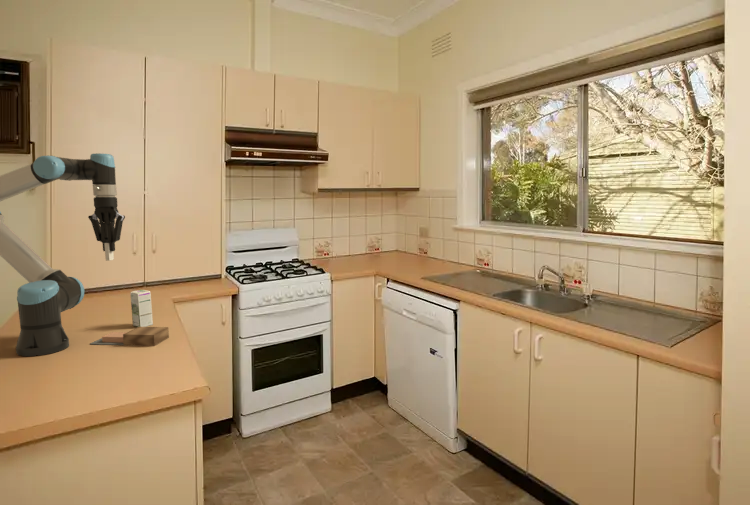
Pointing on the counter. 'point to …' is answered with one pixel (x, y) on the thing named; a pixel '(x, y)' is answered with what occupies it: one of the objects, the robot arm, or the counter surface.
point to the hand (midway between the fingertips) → (109, 260)
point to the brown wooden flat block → (146, 336)
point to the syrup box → (141, 308)
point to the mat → (105, 343)
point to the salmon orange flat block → (114, 337)
